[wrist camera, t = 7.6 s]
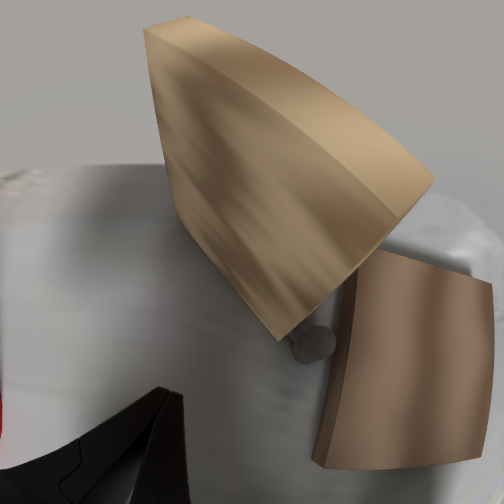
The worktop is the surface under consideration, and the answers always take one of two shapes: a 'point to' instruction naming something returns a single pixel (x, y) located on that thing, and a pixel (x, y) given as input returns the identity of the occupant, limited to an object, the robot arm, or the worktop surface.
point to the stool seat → (408, 368)
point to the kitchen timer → (0, 416)
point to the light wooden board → (273, 174)
